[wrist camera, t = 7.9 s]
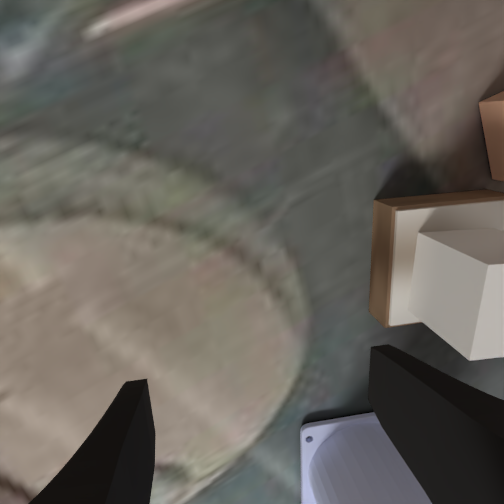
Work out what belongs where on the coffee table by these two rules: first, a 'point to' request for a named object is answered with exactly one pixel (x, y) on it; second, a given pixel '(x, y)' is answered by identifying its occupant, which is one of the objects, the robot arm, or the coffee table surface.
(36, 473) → the coffee table surface
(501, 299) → the stone block
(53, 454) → the coffee table surface
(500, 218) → the plinth
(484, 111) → the terracotta block
